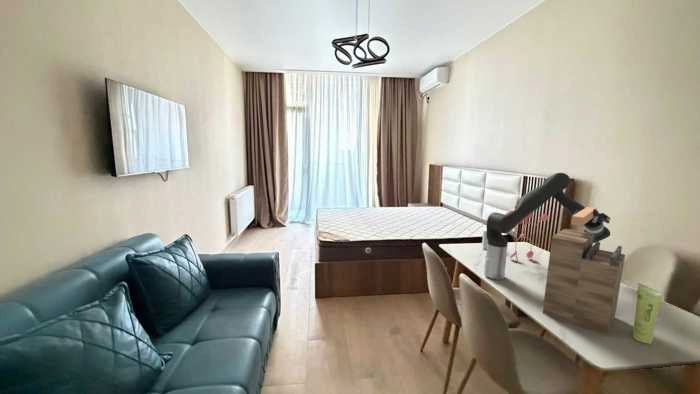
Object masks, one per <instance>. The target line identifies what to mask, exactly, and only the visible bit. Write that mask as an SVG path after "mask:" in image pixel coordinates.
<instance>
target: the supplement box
mask: <svg viewBox="0 0 700 394" xmlns="http://www.w3.org/2000/svg"><path fill="white" fill-rule="evenodd" d="M486 231H487V227H483V228H482V241H481V246H482V250H487V242H488V241H487V237H486Z"/></svg>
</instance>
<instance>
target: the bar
mask: <svg viewBox="0 0 700 394" xmlns="http://www.w3.org/2000/svg"><path fill="white" fill-rule="evenodd" d="M594 209H596V210H597V207H593V206H592V207H589V206H586V207H585V209H583V210H581V211H580V212H578V213H576V214H575V215H573V216H572V215H571V216H572V217H571V223H570V225H572V226H579V227H584V226H583V225H584V224H586V223H587V222H588V221H589V220H591V219H592V218H593V217H594V215H593V210H594ZM597 211H598V210H597Z"/></svg>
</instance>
